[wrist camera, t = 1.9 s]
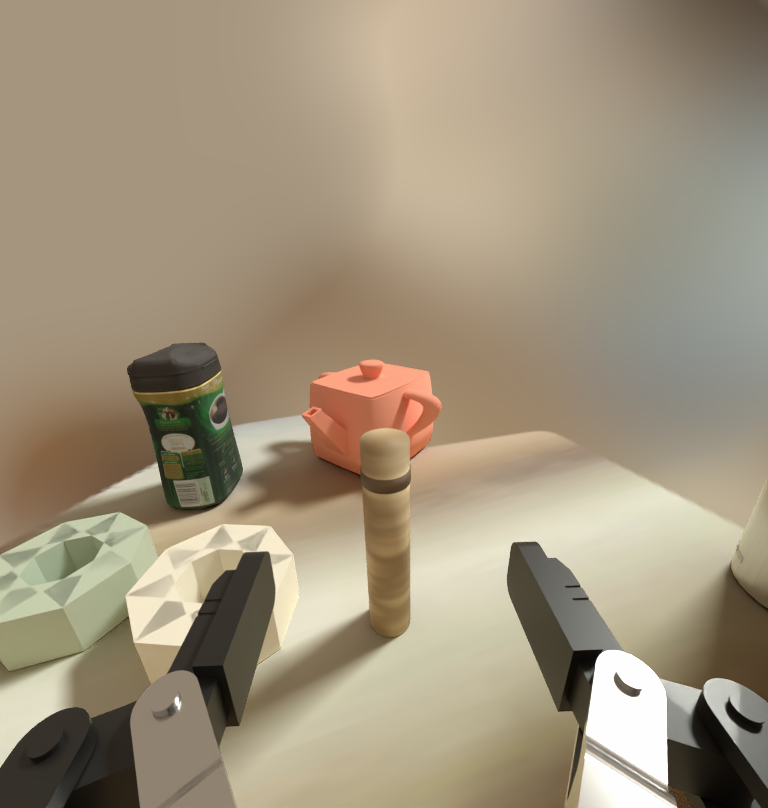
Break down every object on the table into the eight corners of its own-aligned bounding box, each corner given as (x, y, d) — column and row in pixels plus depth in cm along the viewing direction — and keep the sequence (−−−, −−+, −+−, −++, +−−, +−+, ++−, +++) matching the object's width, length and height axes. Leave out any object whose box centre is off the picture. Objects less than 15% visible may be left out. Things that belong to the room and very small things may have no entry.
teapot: (354, 417, 66) (350, 343, 61) (463, 450, 53) (468, 360, 48) (262, 463, 52) (246, 370, 47) (380, 523, 39) (376, 405, 34)
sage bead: (181, 575, 33) (169, 536, 31) (29, 694, 24) (1, 649, 22) (115, 538, 38) (102, 503, 36) (-32, 625, 29) (-59, 584, 27)
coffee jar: (193, 470, 50) (159, 339, 43) (250, 467, 50) (225, 337, 44) (155, 515, 41) (104, 359, 34) (224, 512, 41) (187, 356, 35)
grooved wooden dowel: (419, 619, 28) (421, 439, 22) (387, 647, 26) (381, 457, 20) (392, 592, 31) (387, 423, 25) (361, 616, 29) (348, 438, 23)
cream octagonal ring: (318, 621, 28) (312, 579, 27) (161, 731, 22) (141, 685, 20) (263, 545, 36) (256, 509, 35) (136, 609, 30) (120, 569, 28)
